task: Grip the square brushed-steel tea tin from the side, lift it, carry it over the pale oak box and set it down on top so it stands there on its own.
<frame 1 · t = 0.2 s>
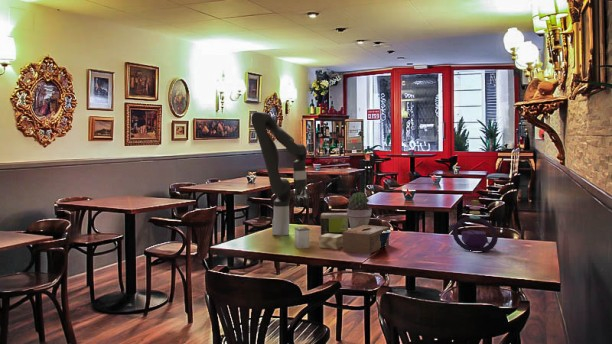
hand: (301, 206, 310), 18 cm above the table, tool pointing down, fingers open, 8 cm apart
oak box: (331, 246, 282), on the table
canister: (302, 247, 280), on the table
tea box: (334, 240, 301), on the table
potted plant: (357, 230, 332), on the table
tissue box cover: (366, 248, 276), on the table
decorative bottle: (474, 249, 273), on the table
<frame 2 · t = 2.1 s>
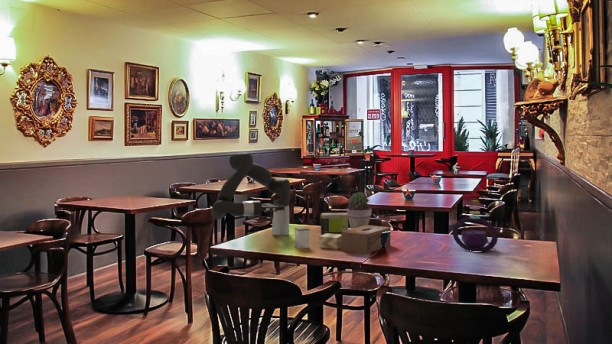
hand: (281, 207, 275), 22 cm above the table, tool horizontal, fingers open, 8 cm apart
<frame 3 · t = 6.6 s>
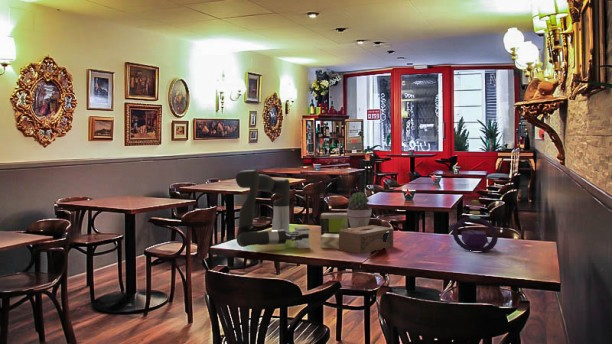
hand: (306, 234, 280), 6 cm above the table, tool horizontal, fingers closed on canister, 6 cm apart
canister: (302, 247, 280), on the table, touching gripper
when the fingers open (13 cm above the table, at t = 11.5 s): canister stays where it is, resting on oak box.
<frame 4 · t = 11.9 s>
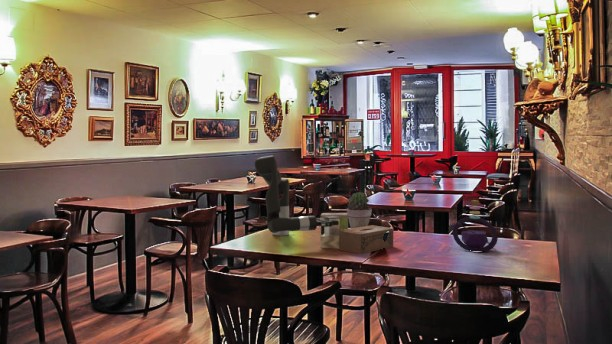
hand: (335, 221, 281), 13 cm above the table, tool horizontal, fingers open, 8 cm apart
oak box: (331, 246, 282), on the table, touching canister
canister: (331, 235, 281), point 6 cm above the table, touching oak box
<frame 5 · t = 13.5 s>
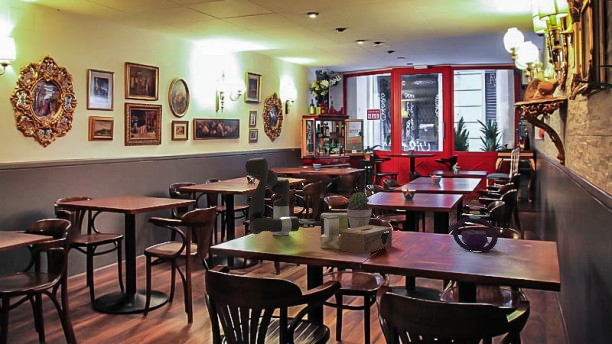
hand: (317, 222, 278), 13 cm above the table, tool horizontal, fingers open, 8 cm apart
oak box: (331, 246, 282), on the table
canister: (331, 235, 281), point 6 cm above the table
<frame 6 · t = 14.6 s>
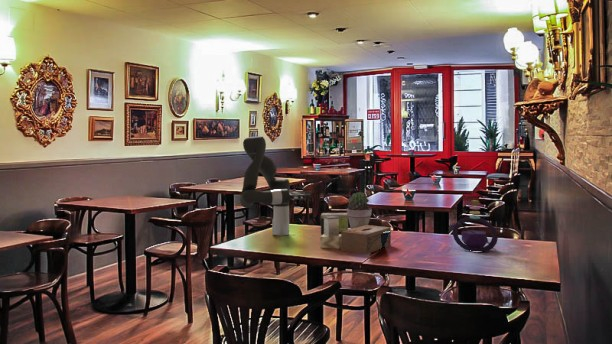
hand: (308, 194, 279), 27 cm above the table, tool horizontal, fingers open, 8 cm apart
oak box: (331, 246, 282), on the table, touching canister
canister: (331, 235, 281), point 6 cm above the table, touching oak box
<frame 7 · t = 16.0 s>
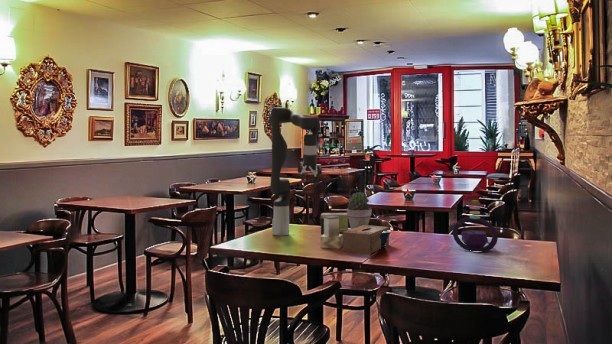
hand: (309, 181, 294), 33 cm above the table, tool pointing down, fingers open, 8 cm apart
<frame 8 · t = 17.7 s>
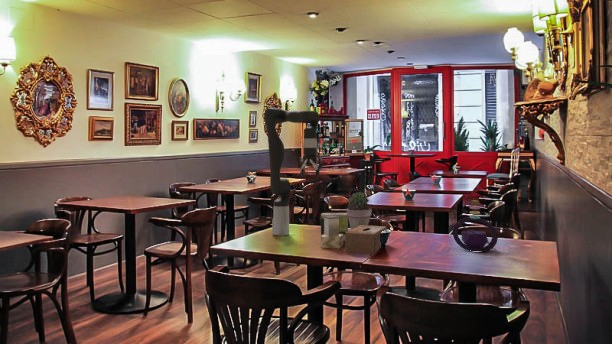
hand: (310, 176, 295), 36 cm above the table, tool pointing down, fingers open, 8 cm apart
at the end: canister point 5.7 cm above the table; canister 0.3 cm from the oak box (horizontally); canister tilted 0° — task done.
